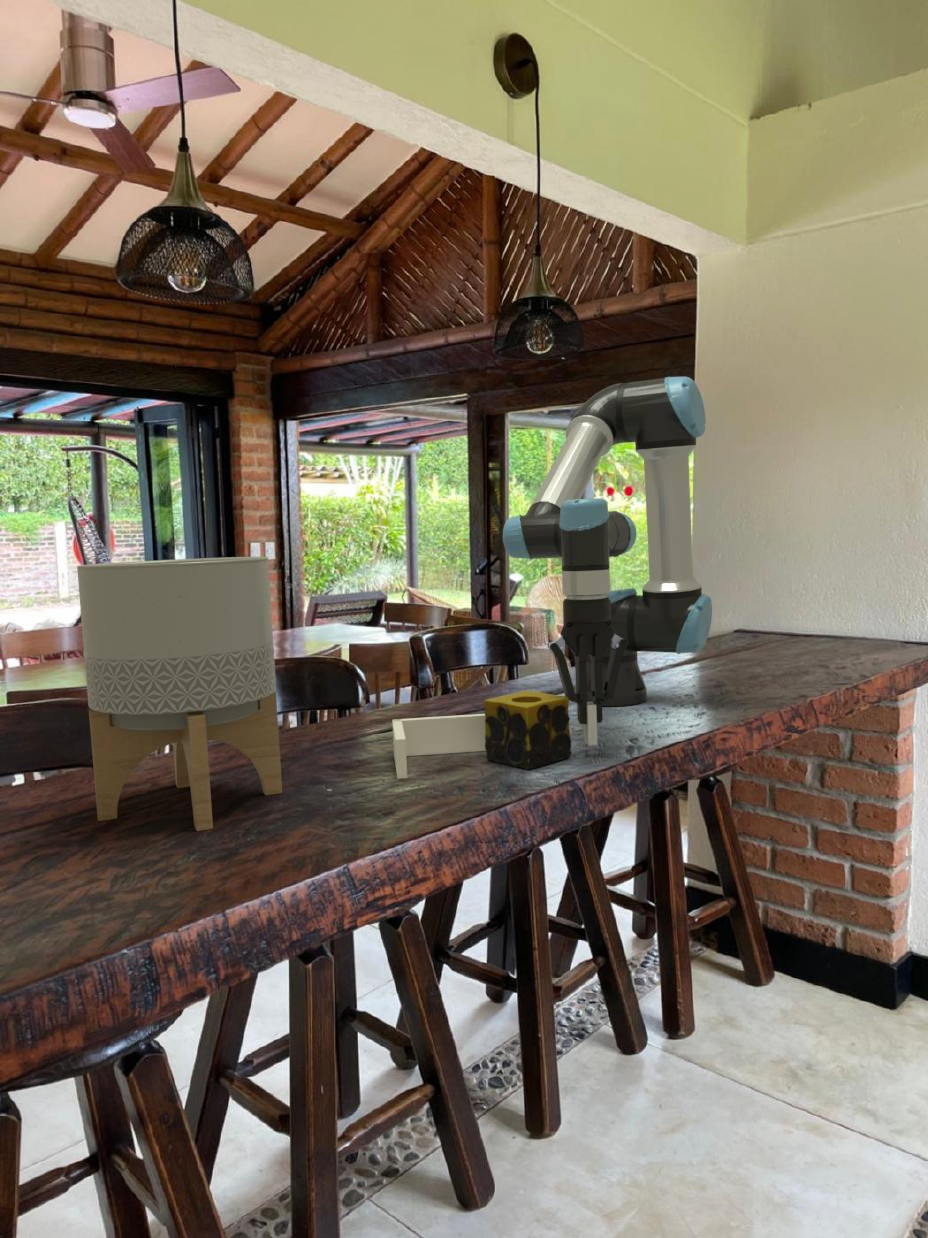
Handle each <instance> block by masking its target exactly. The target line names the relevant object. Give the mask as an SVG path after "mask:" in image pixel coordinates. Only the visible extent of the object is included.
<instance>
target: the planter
mask: <svg viewBox="0 0 928 1238" xmlns="http://www.w3.org/2000/svg"><path fill="white" fill-rule="evenodd" d="M76 568H77V570H76V571H77V572H76V573H77V581H78V595H79V605H80V619H81V628H82V629H81V630H82V642H83V655H84V666H85V678H86V691H87V693H86V694H87V703H88V707H89V708H90V709H89V710H88V717H89V729H90V741H91V743H90V744H91V753H92V765H93V767H92V768H93V778H94V780H93V781H94V789H95V790H94V791H95V801H96V814H97V821H98V822H101V821H103V822H104V821H109V820H115V819H118V804H119V800H120V797H121V794H122V790H123V787H124V786H125V783H126V781H127V779H128V778H129V776H130V775H131V773H132V772H133V770H134V769H135V768H136V767H137V766H138V765H139V764H140V763H141V762H142V761H144V759H146V758H147V757H148V756H150V755H151V754H152V753H154V752H157V750H158V751H159V750H160V749H161V748H164V747H167V746H169V745H172V749H173V763H174V776H175V778H174V779H175V786H176V788H177V789H184V788H189V787H190V794H191V795H190V796H191V798H190V799H191V804H192V805H191V806H192V815H193V826H194V829H195V830H196V832H201V831H206V830H212V829H214V823H213V822H214V821H213V820H214V819H213V811H212V810H213V809H212V795H211V794H212V793H211V792H212V791H211V781H210V780H211V779H210V767H209V766H210V764H209V751H208V750H209V749H208V741H217V742H220V743H223V744H226V745H228V746H231V747H233V748H235V749H237V750H238V751H240V752H241V753H242V754H244V755H245V757H247V758H248V759H249V761H251V763H252V764H253V766H254V768H255V769H256V772H257V774H258V776H259V779H260V783H261V787H262V793H263V794H264V796H273V795H278V794H279V795H280V794H282V793H283V784H282V783H283V782H282V771H281V770H282V769H281V768H282V767H281V752H280V750H281V749H280V738H279V737H280V735H279V721H278V719H279V718H278V703H277V700H278V699H277V681H276V665H275V648H274V647H275V646H274V637H273V636H274V634H273V633H274V631H273V616H272V615H273V614H272V603H271V601H272V599H271V586H270V569H269V557H268V556H236V557H235V556H231V557H228V556H227V557H205V558H202V557H201V558H181V559H178V558H177V559H160V560H157V559H156V560H142V561H140V560H137V561H124V562H122V561H120V562H106V563H104V562H103V563H91V564H80V565H77V566H76Z"/></svg>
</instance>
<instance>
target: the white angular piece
mask: <svg viewBox="0 0 928 1238" xmlns="http://www.w3.org/2000/svg"><path fill="white" fill-rule="evenodd" d="M485 718H486V716H485V713H476V714H459V715H447V716H446V715H444V716H429V717H428V716H427V717H414V718H398V719H397V718H396V719H394V718H393V719H391V721H392V722H391V723H392V724H391V725H392V741H393V743H392V744H393V757H394V763H395V764H394V765H395V772H396V778H397V780H399V779H408V765H407V764H408V763H407V757H414V756H428V755H442V754H443V755H444V754H457V753H458V754H459V753H461V754H462V753H471V752H472V753H473V752H486V749H485V741H486V740H485Z"/></svg>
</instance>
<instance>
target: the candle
mask: <svg viewBox="0 0 928 1238" xmlns="http://www.w3.org/2000/svg"><path fill="white" fill-rule="evenodd" d="M483 702H484V703H483V705H484V714H485V716H486V718H485V740H486V741H485V749H486V751H485V752H486V760H487V761H491V762H495V763H498V764H502V765H507V766H512V767H516V768H521V769H525V770H533V769H536V768H539V767H543V766H546V765H550V764H553V763H556V762H558V761H563V760H567V759H568V758H570V757H571V755H572V750H571V747H572V740H571V733H570V715H569V706H570V705H569V704H570V703H569V702H570V700H569V698H568V697H566V696H565V695H556V694H552V693H551V694H550V693H545V692H541V691H540V692H539V691H533V690H526V689H525V690H522V691H521V690H520V691H518V692H513V693H509V694H504V695H499V696H496V697H492V698H488V699H484V701H483Z"/></svg>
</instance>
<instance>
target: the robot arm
mask: <svg viewBox="0 0 928 1238" xmlns="http://www.w3.org/2000/svg"><path fill="white" fill-rule="evenodd" d="M705 411H706V410H705V406H704V401H703V397H702V395H701V391H700V389H699V387H698V385H697V383H696V382H695V381H694V380H693V378H691V377H688V376H667V377H666V376H665V377H661V378H653V379H646V380H639V381H632V382H622V383H621V382H619V383H615V384H612V385H610V386H607V387H605V388H604V389H602V390H600V391H598V392H596V393H595V394H593V395H592V396H591V397H589V398H588V399H587V400H586V401H585V402H584V403H583V404H582V405H581V406H579V408H578V409H577V411H576V412H575V413H574V414H573V416H572V417H571V419H570V421H569V423H568V424H567V427H566V430H565V438H566V439H565V441H564V442H563V445H562V447H561V449H560V450H559V452H558V454H557V456H556V458H555V459H554V462H553V464H552V465H551V467H550V469H549V471H548V472H547V475H546V477H545V479H544V480H543V482H542V484H541V486H540V488H539V490H538V492H537V494H536V496H535V498H534V499H533V501H532V503H531V504H530V506H529V508H528V509H527V511H526V514H524V515H522V514H518V515H516V516H510V517H509V518H508V519H506V521H505V523H504V525H503V530H502V542H503V543H502V544H503V546H504V548H505V551H506V553H507V554H508V555H509V556H510V557H511V558H514V559H529V560H535V559H558V558H560V559H561V572H562V573H561V575H562V576H561V577H562V578H561V579H562V581H561V582H562V587H561V588H562V595H563V597H564V596H565V597H566V598H564V599H563V600H562V617H563V621H562V622H563V623H562V625H563V627H562V629H561V630H560V636H559V637H557V638H556V639H554V640H553V641H549V642H548V643H547V648H548V650H549V651H550V652H551V654H552V655H553V657H554V661H555V663H556V664H555V665H556V666H557V667H556V668H557V670H558V671H557V672H558V674H559V678H560V681H561V686H562V689H563V694H564V696H565V697H568V698H569V702H573V703H576V708H577V712H576V713H577V721H578V723H579V724H580V725H583V736H584V737H583V738H584V744H587V746H597V745H598V726H597V725H598V724H602V723H603V720H604V715H603V707H621V706H622V707H623V706H631V705H632V706H633V705H638V704H642V703H644V702H646V701H647V700H648V692H647V686H646V684H645V681H644V678H643V676H642V671H641V669H640V666H639V663H638V661H639V660H638V652H639V653H640V652H643V653H646V652H647V653H648V652H649V653H650V652H651V653H652V652H653V653H671V654H673V653H674V654H675V653H676V654H677V655H680V654H689V653H694V654H695V653H698V652H699V651H701V650H702V649H703V648H704V646H705V645H706V642H707V640H708V638H709V635H710V631H711V630H710V629H711V625H712V618H713V604H712V599H711V596H709V595H707V594H705V593H704V594H703V593H702V591H703V590H702V584H701V583H700V582H699V581H698V580H696V578H695V577H694V566H693V564H694V563H693V541H692V540H693V539H692V511H691V484H690V462H689V461H690V460H689V459H690V458H689V457H690V454H691V453H692V452H693V451H694V450H695V449H696V448H697V438H700V437H701V436H703V435H704V434H705V432H706V425H705V424H706V420H707V419H706V412H705ZM625 443H626V444H627V443H628V444H630V443H634V444H635V446H634V447H635V452H636V453H637V454H638V455H639V456H640V457H641V458H642V459H643V463H644V464H643V467H644V471H643V472H644V485H645V486H644V488H645V489H644V490H645V493H644V494H645V510H646V511H645V512H646V530H647V554H648V574H649V575H648V577H649V579H648V581H647V582H646V583H645V584H644V586H642V591H641V593H642V594H640V595H639V594H638V592H637V590H636V588H635V587H631V588H630V587H629V588H622V589H614V590H611V574H610V571H611V570H610V557H614V558H616V557H619V556H621V555H624V554H627V553H628V552H629V551H630V550H631V549H632V548H633V546H634V545H635V542H636V539H637V528H636V525H635V522H634V521H633V520H632V518H631V517H629V515H627V514H625V513H623V512H619V511H618V510H617V511H616V510H613V511H612V510H611V511H610V510H609V507H608V502H607V500H606V499H604V498H601V497H600V498H582V497H583V494H584V492H585V491H586V488H587V486H588V485H589V482H590V480H591V478H592V476H593V474H594V472H595V470H596V469H597V466H598V465H599V464H598V463H599V462H600V460H601V458H602V457H603V456H605V455H606V454H608V453H609V452H610V450H611V449H612V447H613V446H615V445H619V444H625ZM565 644H566V646H567V647H568V648H569V650H570V651H571V652H572V653H573V657H574V658H573V659H574V666H575V667H574V669H575V687H574V684H573V681H572V678H571V672H570V670H569V667H568V664H567V659H566V656H565V654H564V651H565V650H566V647H565Z"/></svg>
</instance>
